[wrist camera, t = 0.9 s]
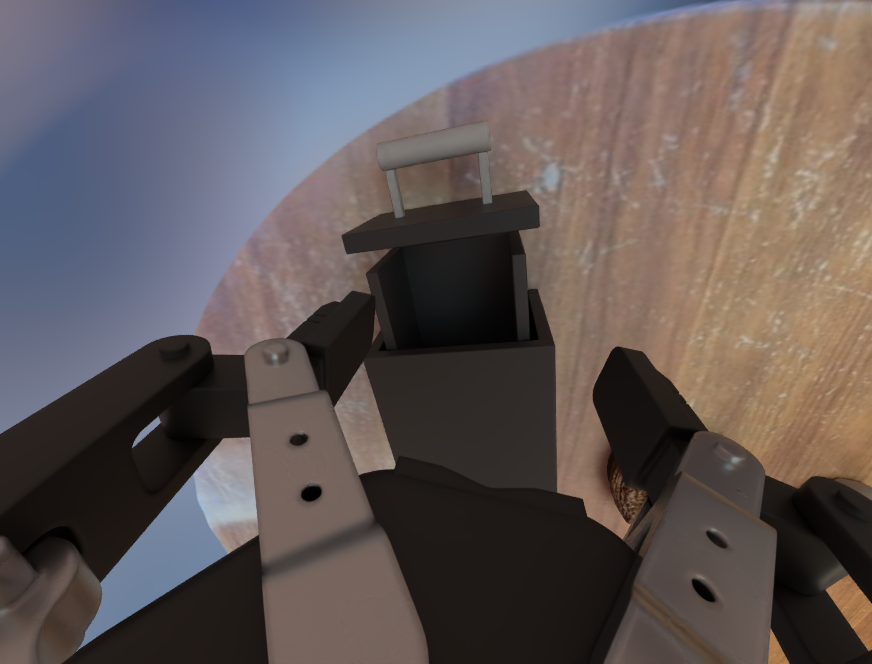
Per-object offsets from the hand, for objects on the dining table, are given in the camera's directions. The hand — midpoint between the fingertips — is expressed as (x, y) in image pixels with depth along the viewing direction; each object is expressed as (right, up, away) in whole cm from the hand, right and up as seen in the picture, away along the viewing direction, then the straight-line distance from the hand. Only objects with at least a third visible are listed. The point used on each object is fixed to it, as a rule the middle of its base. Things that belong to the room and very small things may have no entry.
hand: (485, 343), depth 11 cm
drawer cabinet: (+2, -3, +22) cm, 23 cm away
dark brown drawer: (0, +6, +17) cm, 18 cm away
